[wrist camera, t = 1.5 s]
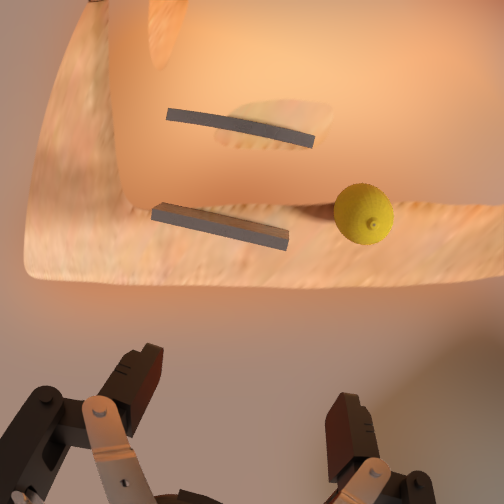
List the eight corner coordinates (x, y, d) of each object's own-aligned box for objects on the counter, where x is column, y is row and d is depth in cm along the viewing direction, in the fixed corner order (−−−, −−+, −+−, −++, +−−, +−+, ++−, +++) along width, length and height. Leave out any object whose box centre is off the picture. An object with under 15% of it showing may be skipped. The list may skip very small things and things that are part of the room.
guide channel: (178, 110, 30) (168, 108, 27) (312, 136, 30) (315, 135, 27) (161, 212, 34) (151, 219, 31) (285, 241, 34) (286, 251, 31)
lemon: (374, 173, 30) (400, 186, 23) (382, 224, 32) (407, 249, 24) (323, 183, 31) (335, 198, 24) (333, 234, 33) (347, 263, 25)
